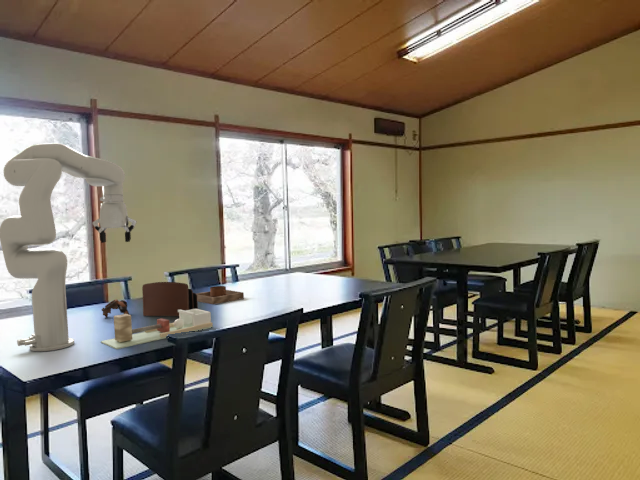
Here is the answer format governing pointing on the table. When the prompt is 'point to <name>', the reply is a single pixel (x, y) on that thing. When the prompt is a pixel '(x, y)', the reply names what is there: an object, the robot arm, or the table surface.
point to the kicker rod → (125, 329)
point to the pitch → (192, 322)
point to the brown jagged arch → (115, 307)
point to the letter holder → (167, 298)
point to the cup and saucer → (217, 291)
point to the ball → (178, 323)
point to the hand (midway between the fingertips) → (115, 242)
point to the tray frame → (221, 299)
